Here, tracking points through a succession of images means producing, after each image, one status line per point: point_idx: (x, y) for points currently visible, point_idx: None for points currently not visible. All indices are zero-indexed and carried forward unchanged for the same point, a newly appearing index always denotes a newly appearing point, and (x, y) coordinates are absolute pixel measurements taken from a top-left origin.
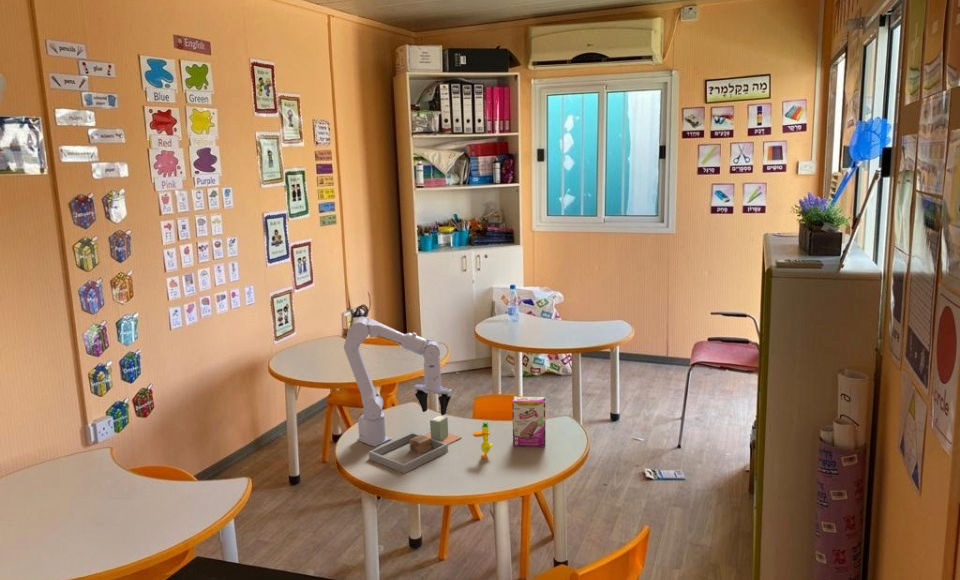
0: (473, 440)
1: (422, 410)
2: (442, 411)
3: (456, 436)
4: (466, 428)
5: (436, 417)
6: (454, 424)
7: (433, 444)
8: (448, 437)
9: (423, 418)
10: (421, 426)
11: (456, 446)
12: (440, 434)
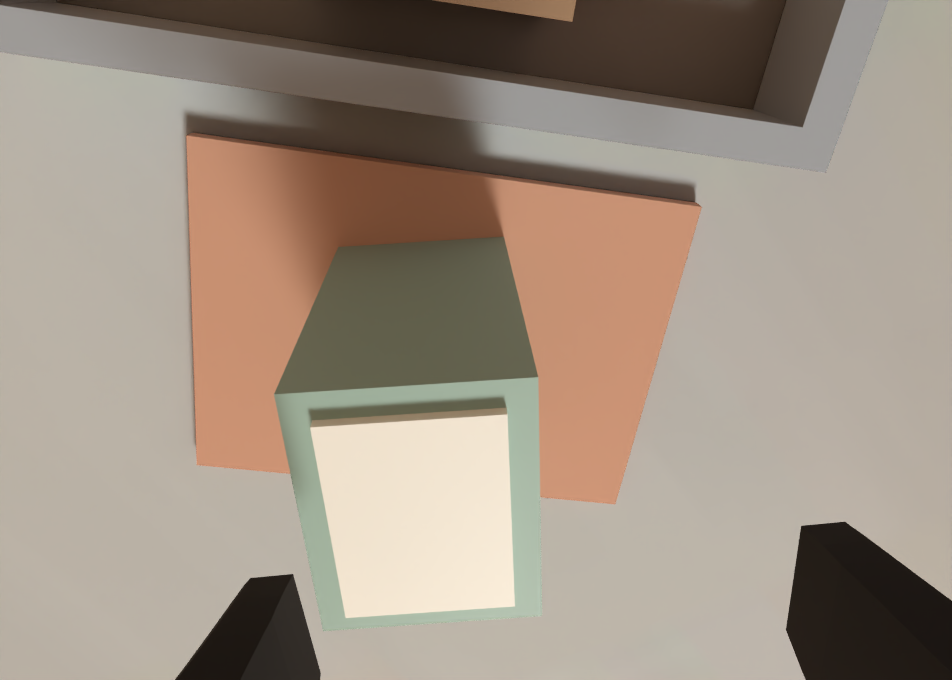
0: (39, 476)
1: (867, 543)
2: (192, 661)
3: (264, 456)
4: (343, 654)
5: (491, 534)
6: (520, 668)
7: (295, 42)
8: None
9: None
10: (844, 492)
11: (63, 242)
12: (321, 290)
